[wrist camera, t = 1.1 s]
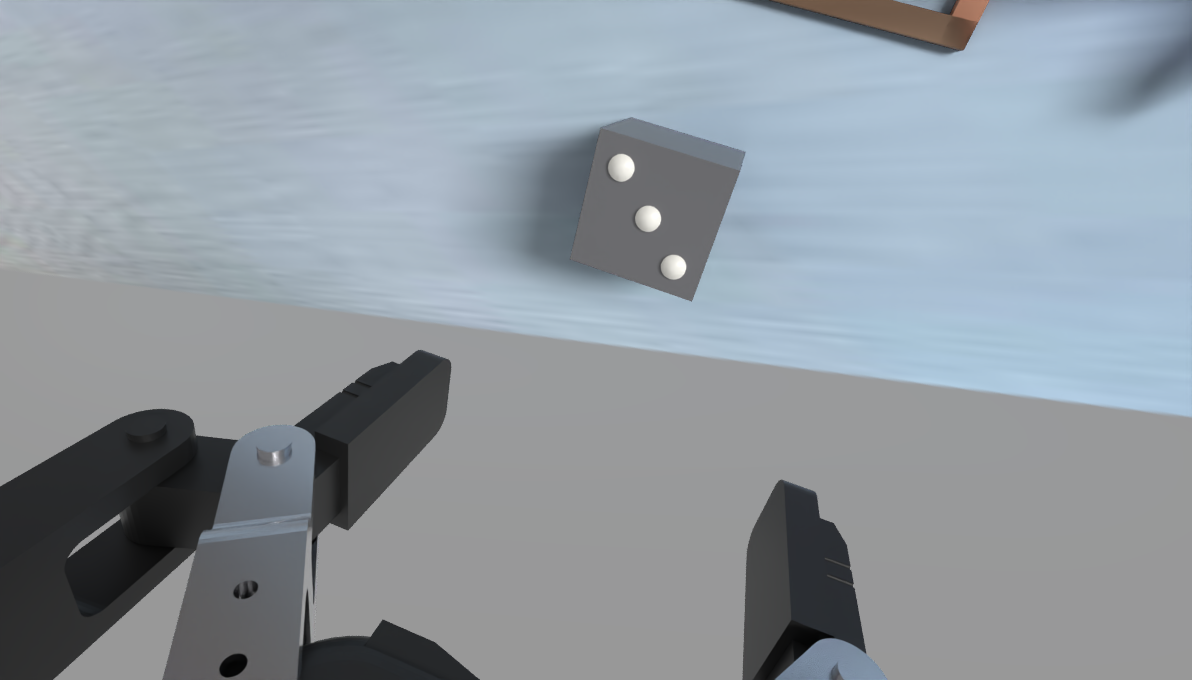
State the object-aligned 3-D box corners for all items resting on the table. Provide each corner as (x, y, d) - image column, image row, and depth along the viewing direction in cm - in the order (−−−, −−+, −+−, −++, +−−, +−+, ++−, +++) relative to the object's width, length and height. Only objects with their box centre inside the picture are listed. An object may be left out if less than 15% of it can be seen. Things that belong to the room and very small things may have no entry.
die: (632, 117, 32) (599, 128, 26) (745, 151, 32) (740, 171, 25) (603, 227, 36) (569, 260, 30) (705, 261, 35) (691, 302, 29)
